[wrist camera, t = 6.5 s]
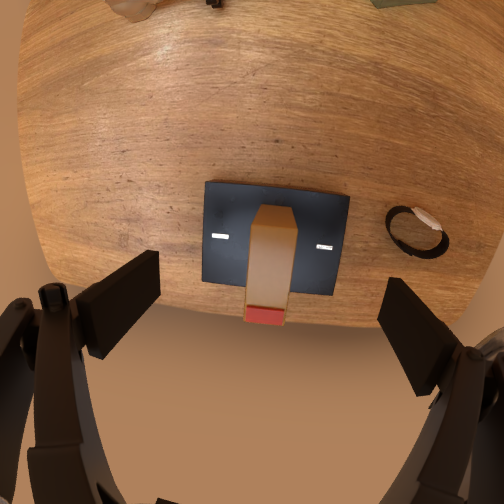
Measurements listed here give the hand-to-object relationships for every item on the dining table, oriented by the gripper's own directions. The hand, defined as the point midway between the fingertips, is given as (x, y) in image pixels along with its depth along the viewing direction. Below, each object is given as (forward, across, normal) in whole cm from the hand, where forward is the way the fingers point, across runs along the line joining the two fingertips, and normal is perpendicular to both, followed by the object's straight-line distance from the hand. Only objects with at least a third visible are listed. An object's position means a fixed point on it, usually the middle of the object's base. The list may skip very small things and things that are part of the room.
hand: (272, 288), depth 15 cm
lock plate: (+12, 0, 0) cm, 12 cm away
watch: (+12, +14, +2) cm, 18 cm away
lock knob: (+9, 0, 0) cm, 9 cm away
